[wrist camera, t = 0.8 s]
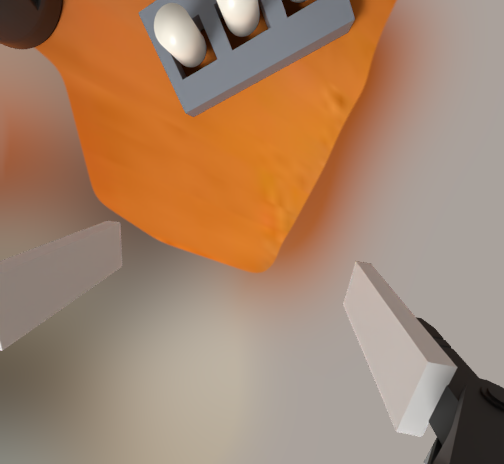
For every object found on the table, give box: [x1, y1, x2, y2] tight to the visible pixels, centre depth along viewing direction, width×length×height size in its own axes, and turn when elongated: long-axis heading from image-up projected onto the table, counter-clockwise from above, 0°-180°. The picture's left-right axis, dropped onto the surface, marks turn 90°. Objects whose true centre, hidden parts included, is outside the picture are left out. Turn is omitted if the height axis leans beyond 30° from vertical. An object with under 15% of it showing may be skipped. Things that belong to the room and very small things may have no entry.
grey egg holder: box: [139, 0, 355, 117], centre depth 28 cm, size 12×22×6 cm, turn 114°
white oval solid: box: [217, 0, 260, 37], centre depth 25 cm, size 4×4×5 cm
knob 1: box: [154, 3, 206, 67], centre depth 27 cm, size 4×4×5 cm
